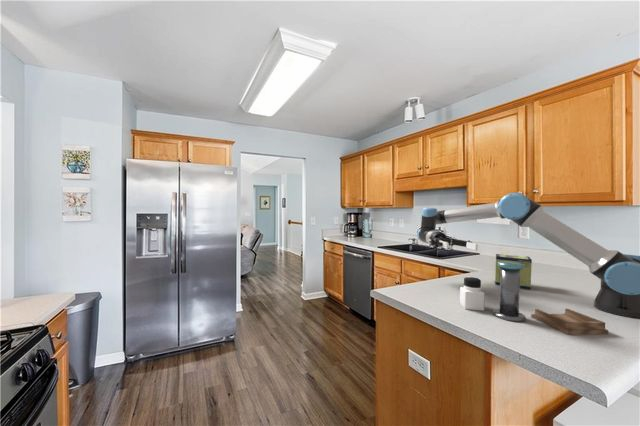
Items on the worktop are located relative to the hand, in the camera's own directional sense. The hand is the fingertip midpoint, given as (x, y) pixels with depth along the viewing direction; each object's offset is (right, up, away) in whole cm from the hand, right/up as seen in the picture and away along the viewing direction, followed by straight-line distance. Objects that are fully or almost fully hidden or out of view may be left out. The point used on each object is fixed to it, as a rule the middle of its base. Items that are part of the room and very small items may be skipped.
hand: (462, 246), depth 119 cm
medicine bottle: (0, -24, -8) cm, 25 cm away
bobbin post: (+8, -24, -17) cm, 31 cm away
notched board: (+24, -24, -24) cm, 42 cm away
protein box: (+41, -24, +27) cm, 55 cm away
